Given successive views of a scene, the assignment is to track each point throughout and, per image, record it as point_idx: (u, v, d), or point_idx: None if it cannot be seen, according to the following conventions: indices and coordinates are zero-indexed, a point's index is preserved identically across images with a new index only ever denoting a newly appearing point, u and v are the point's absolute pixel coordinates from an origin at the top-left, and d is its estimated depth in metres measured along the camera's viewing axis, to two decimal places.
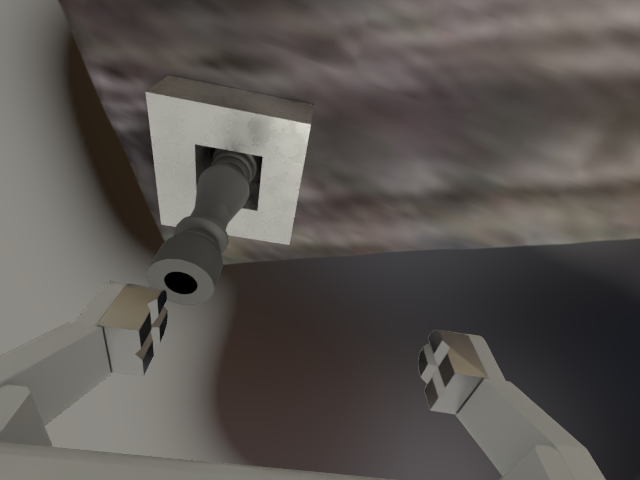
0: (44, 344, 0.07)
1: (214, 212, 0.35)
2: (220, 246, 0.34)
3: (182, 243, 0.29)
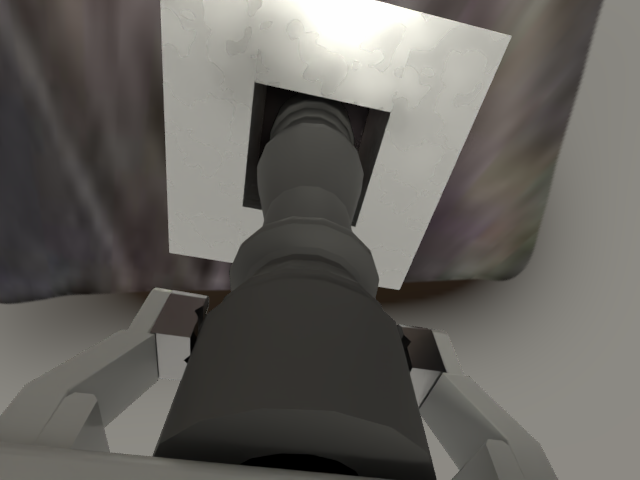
0: (103, 351, 0.07)
1: None
2: (320, 249, 0.11)
3: None
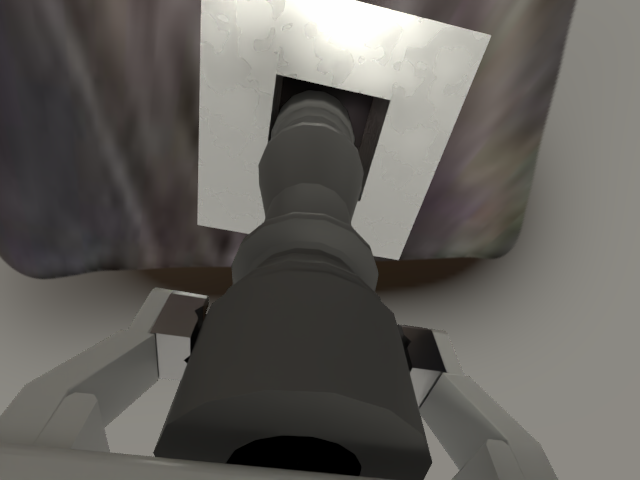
0: (103, 351, 0.07)
1: None
2: (321, 244, 0.11)
3: None
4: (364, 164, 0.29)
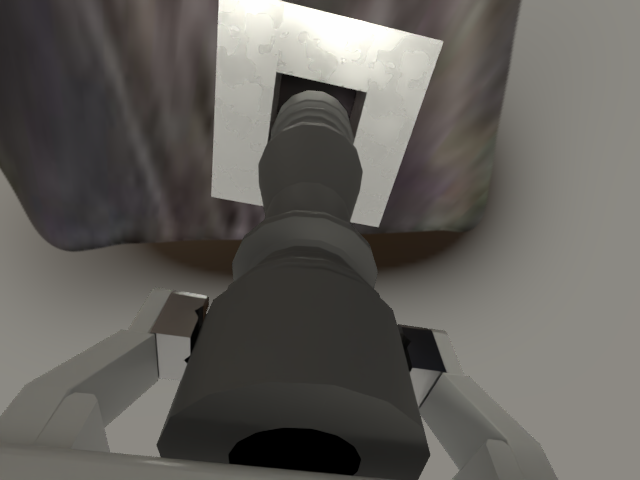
0: (103, 351, 0.07)
1: None
2: (321, 242, 0.11)
3: None
4: None
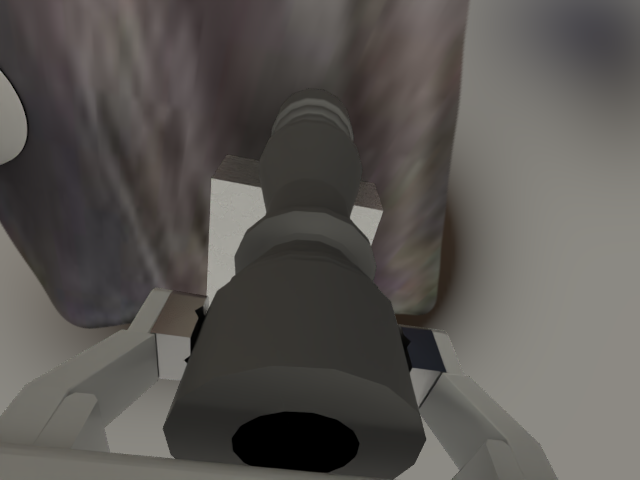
0: (103, 351, 0.07)
1: None
2: (322, 236, 0.11)
3: None
4: None
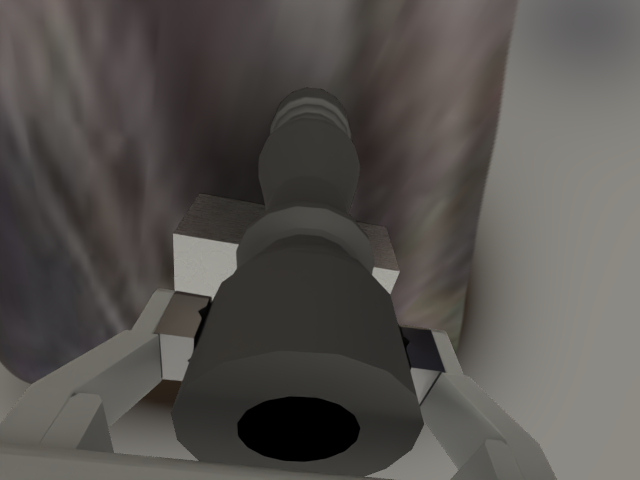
0: (107, 352, 0.07)
1: None
2: (322, 231, 0.12)
3: None
4: None
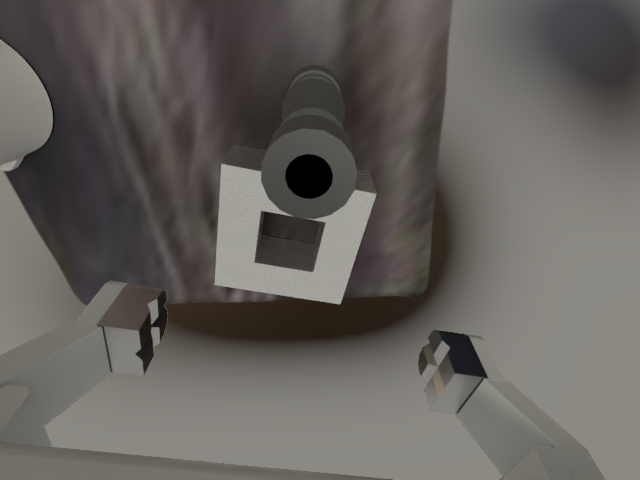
0: (44, 344, 0.07)
1: None
2: None
3: None
4: (316, 248, 0.48)
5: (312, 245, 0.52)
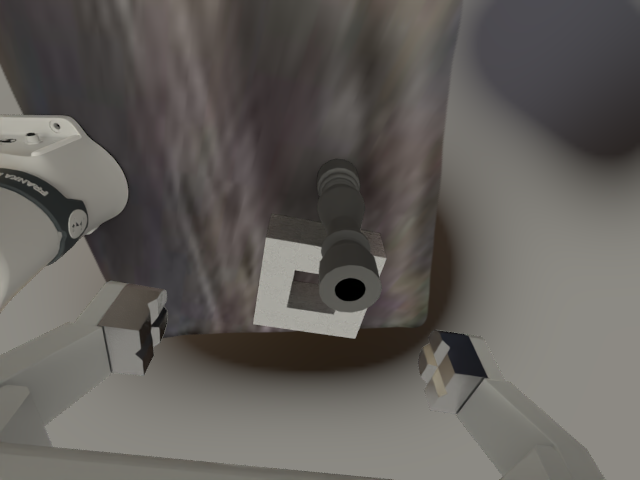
0: (44, 344, 0.07)
1: (330, 230, 0.38)
2: (353, 238, 0.35)
3: (319, 273, 0.33)
4: None
5: None
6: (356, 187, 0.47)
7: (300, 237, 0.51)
